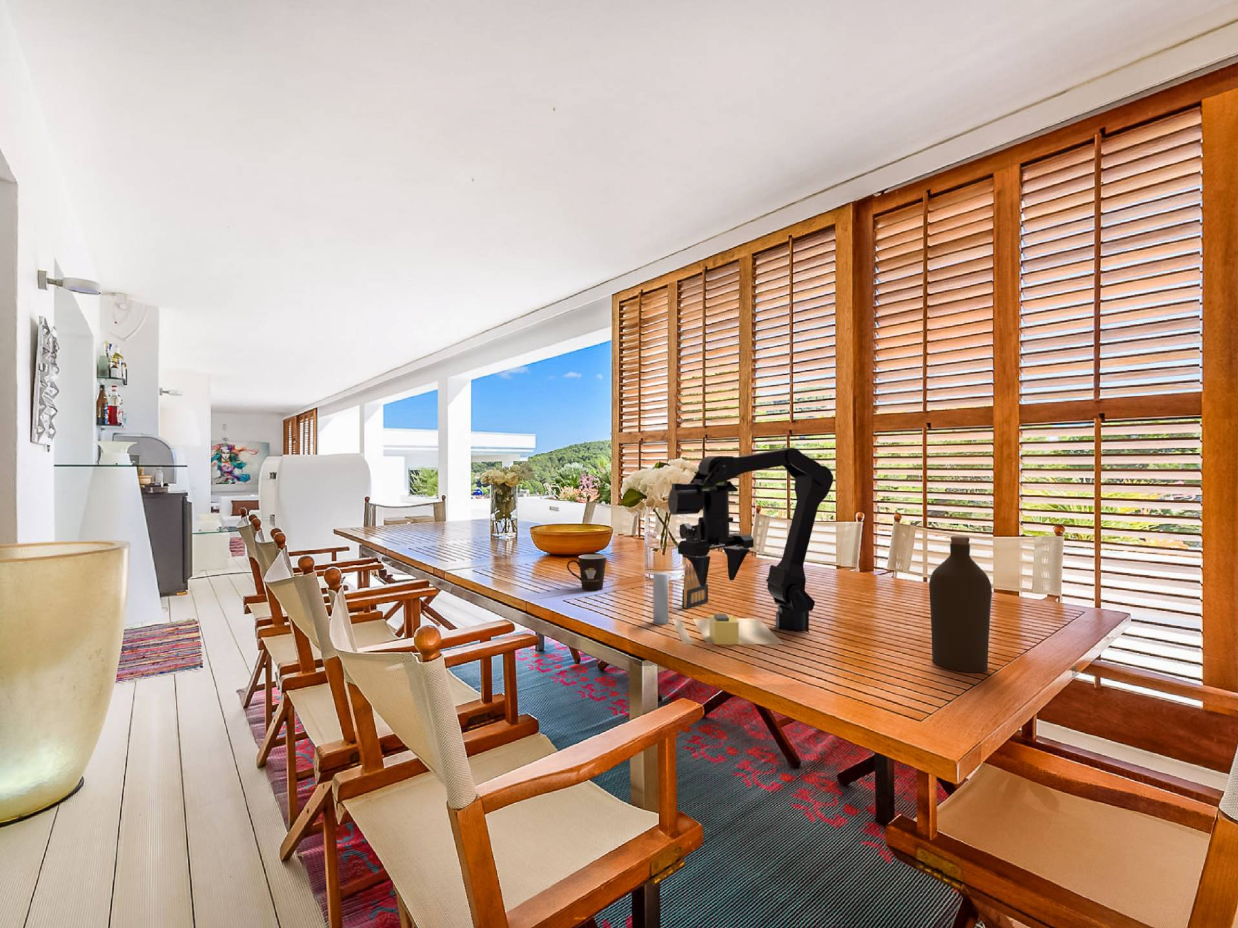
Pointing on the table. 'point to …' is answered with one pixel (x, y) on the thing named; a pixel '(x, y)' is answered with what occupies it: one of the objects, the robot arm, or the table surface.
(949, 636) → the olive oil
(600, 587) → the coffee mug
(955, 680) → the table surface
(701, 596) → the ammunition clip
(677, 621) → the panel
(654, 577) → the light grey cylinder
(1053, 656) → the table surface
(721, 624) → the block
